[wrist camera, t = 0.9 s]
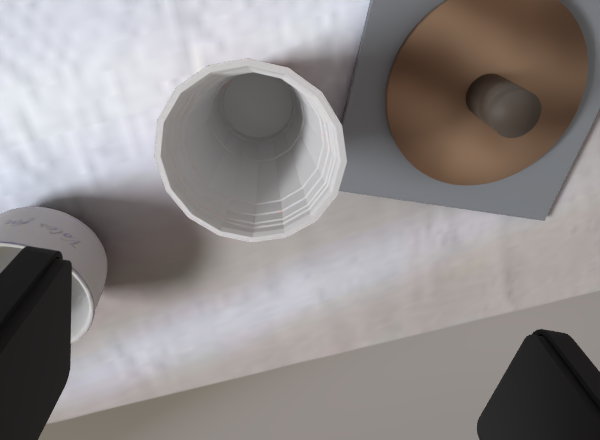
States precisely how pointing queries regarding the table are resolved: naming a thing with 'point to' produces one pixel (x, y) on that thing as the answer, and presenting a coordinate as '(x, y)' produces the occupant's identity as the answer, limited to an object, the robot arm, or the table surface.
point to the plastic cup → (250, 150)
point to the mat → (410, 181)
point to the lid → (485, 87)
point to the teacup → (74, 247)
